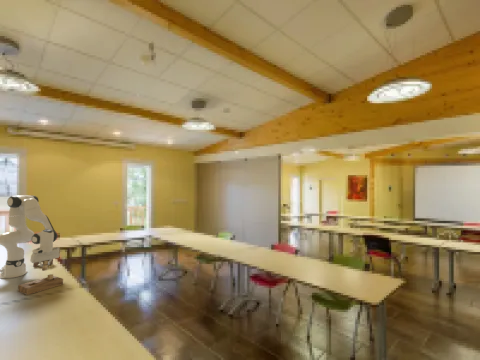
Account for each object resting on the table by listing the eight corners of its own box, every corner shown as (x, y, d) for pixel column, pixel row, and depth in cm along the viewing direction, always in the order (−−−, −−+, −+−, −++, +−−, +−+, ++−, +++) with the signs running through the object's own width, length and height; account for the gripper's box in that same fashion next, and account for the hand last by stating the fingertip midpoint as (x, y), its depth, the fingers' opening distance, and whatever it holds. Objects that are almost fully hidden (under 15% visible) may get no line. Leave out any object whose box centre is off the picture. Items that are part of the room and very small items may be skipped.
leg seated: (45, 285, 201) (46, 275, 201) (51, 283, 204) (51, 274, 205) (48, 286, 199) (49, 276, 200) (53, 284, 203) (54, 274, 203)
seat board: (18, 291, 189) (18, 285, 189) (53, 281, 210) (53, 275, 211) (27, 294, 183) (28, 288, 183) (62, 284, 204) (63, 278, 204)
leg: (40, 270, 209) (41, 260, 209) (45, 268, 212) (46, 259, 212) (43, 271, 207) (44, 261, 207) (48, 269, 210) (49, 260, 211)
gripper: (57, 246, 221) (56, 261, 220) (30, 250, 202) (28, 267, 202) (61, 247, 218) (60, 263, 218) (34, 252, 200) (32, 269, 199)
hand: (44, 265), depth 210 cm, fingers closed on leg, 4 cm apart
